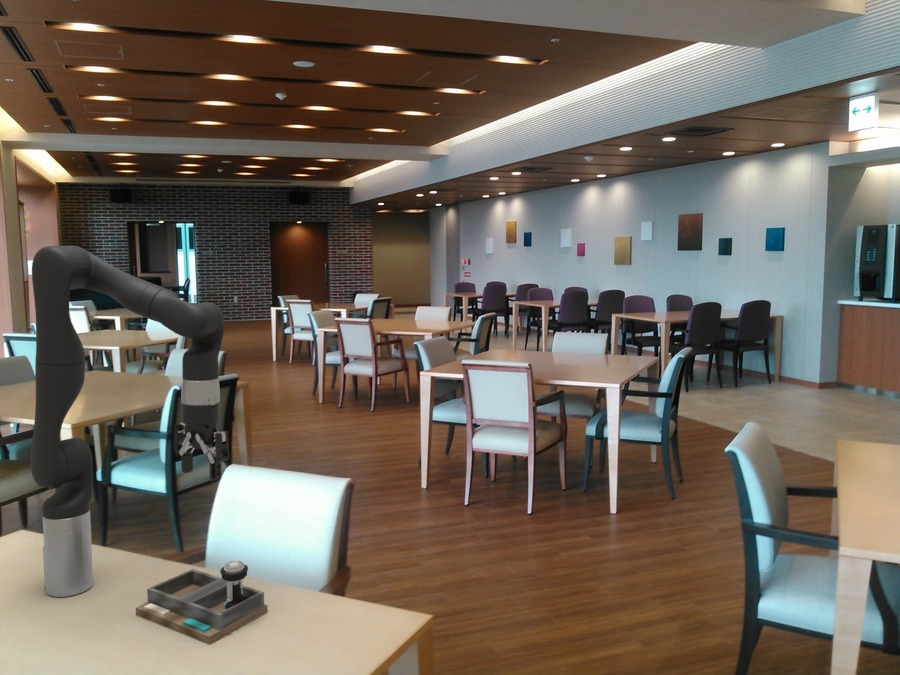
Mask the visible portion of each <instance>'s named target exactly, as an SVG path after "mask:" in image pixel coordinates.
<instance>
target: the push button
mask: <svg viewBox="0 0 900 675" xmlns="http://www.w3.org/2000/svg"><path fill="white" fill-rule="evenodd" d="M248 570H249V566H248V565H246V564H244V562H243V561H240V560H232V561H228V562H226V563H225V565H224V566H223V567H221V568H220V570H219V572H220V575H221V578H222V579H223V580H226V582H227V602H225V603H224V610H226V609H228V608H230V607H232V606H234V605H236V604H238V603H240V602H242V601H244V600H245V599H247V596H244V595H243V592H242V585H243V579H245V578H246V577H247V575H248ZM224 610H223V611H224Z"/></svg>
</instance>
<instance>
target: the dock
mask: <svg viewBox="0 0 900 675" xmlns="http://www.w3.org/2000/svg"><path fill="white" fill-rule="evenodd" d="M242 592H243V595H244V596H247V599H245V600H244V601H242V602H240V603H238V604H236V605H234V606H232V607H230V608H228V609H226V610H224V603H225V602H227V582H226V580H223V579H222V577H219V576H215V575H213V574H210V573H208V572H204V571H200V570H198V569H195V568H192V569H190V570H187V571H185V572H183V573H180V574H178V575H176V576H173V577H171V578H169V579H166V580H165V581H162V582H160V583H157V584H155V585H152V586H150V587H149V588H147V602H145V603H143V604H141V605H139V606H136V607H135V615H136V616H139V617H141V618H143V619H146V620H148V621H151V622H153V623H155V624H158V625H161V626H163V627H166V628H168V629H171V630H173V631H175V632H178V633H180V634H183V635H185V636H189V637H191V638H193V639H196V640H197V641H201V642H203V643H205V644H208V645H211V644H214V643H215V642H217V641H218V640H221V639H222V638H224V637H225V635H226V636H227V635H229V634H231V633H233V632H234V631H236V630H238V629H240V628H242V627H243V626H245V625H247V624H249V623H251V622H253V621H254V620H256V619H258V618H259V617H261V616H264V615H265V614H267V613H268V604H265V592H264V591H261V590H259V589H255V588H252V587H249V586H246V585H244V584H242ZM223 610H224V611H223ZM232 631H233V632H232ZM230 632H231V633H230ZM223 636H224V637H223ZM216 640H217V641H216Z"/></svg>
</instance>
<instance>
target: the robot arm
mask: <svg viewBox="0 0 900 675" xmlns="http://www.w3.org/2000/svg"><path fill="white" fill-rule="evenodd" d="M31 279H32V289H33V290H32V291H33V298H34V301H33V302H34V311H35V343H36V344H35V345H36V347H35V361H34V362H35V364H34V365H35V370H34V372H35V406H34V410H35V412H34V424H33V431H32V432H33V433H32V440H31V447H30V448H31V450H30V460H29V461H30V463H29V464H30V471H31V472H30V473H31V475H32V478H33V480H34V483H36V484H37V486H39V487H41V488H51V487H55V486H59V485H60V487H59V488H58V490H57V491H55V493H54V494H52V495H51V496H49V497H48V498H47V499H45V500H44V501H43V503H42V505H41V514H42V530H43V548H42V556H43V559H42V560H43V573H44V574H43V575H44V576H43V577H44V589H45V591H46V594H47V595H48V596H50V597H55V598H61V597H63V598H65V597H70V596H75V595H79V594H82V593H84V592H86V591H88V590H90V589H91V588H92V587H93V586H94V574H93V572H94V571H93V570H94V569H93V565H94V564H93V548H92V545H93V544H92V522H91V500H92V499H93V498H92V497H93V474H94V473H93V467H94V465H93V462H94V461H93V455H92V451H91V448H90V446H89V444H88V442H86V440H85V439H83V438H81V437H71V438H66V439H61V432H62V427H63V423H64V421H65V419H66V416H67V415H68V412H69V411H70V409H71V408H72V406H73V405H74V404H75V402H76V400H77V398H79V395H80V393H81V391H82V388H83V386H84V383H85V377H86V376H85V375H86V354H85V348H84V346H83V343H82V341H81V339H80V336H79V335H78V333H77V331H76V328H75V327H74V324H73V322H72V318H71V314H70V313H71V312H70V294H71V293H70V292H71V291H72V290H79V289H84V290H91V291H94V292H98V293H102V294H104V295H106V296H108V297H110V298H112V299H113V300H115V301H116V302H117V303H119V304H120V305H121V306H122V307H123V308H125V309H126V310H128V311H129V312H132V313H134V314H136V315H138V316H141V317H143V318H146V319H149V320H151V321H154V322H156V323H159V324H161V325H162V326H163V327H165V328H167V329H168V330H170V331H172V332H173V333H175V334H176V335H179V336H181V337H183V338H187V339H191V342H190V346H189V348H188V349H187V350H186V351H185V352H183V355H182V359H181V360H182V362H181V363H182V365H181V366H182V367H181V368H182V382H181V390H180V391H181V392H180V395H181V396H180V397H181V400H180V401H181V405H180V406H181V410H180V411H181V413H180V414H181V422H178V423H175V424H174V428H173V430H174V432H173V450H174V451H175V452H178V453H179V455H180V458H181V459H180V460H181V472H182V473H183V474H189V473H191V472H193V469H194V455H193V452H194V450H195V449H199V450H202V452H203V454H204V455H206V456H207V459H208V460H209V462H210V463H209V481H212V482H216V481H219V480H220V479H221V476H222V462H224V461H228V460H230V442H229V432H228V430H225V431H218V429H217V424H218V422H219V421H220V420H221V399H220V398H221V390H220V380H219V355H220V352H221V347H222V342H223V336H224V332H225V318H224V314H223V311H222V310H221V309H220V307H219V306H218V305H217V304H215V303H213V302H207V301H206V302H199V303H192V302H188V301H186V300H183V299H181V298H180V296H179V295H178V294H177V293H176V292H174V291H172V290H170V289H168V288H165V287H163V286H161V285H157V284H155V283H154V282H153V283H152V282H150V281H147V280H144V279H142V278H141V277H137V276H134V275H132V274H130V273H127V272H126V271H123V270H122V269H119V268H117V267H116V266H114V265H112V264H111V263H108V262H106V261H105V260H104V259H102V258H100V257H98V256H97V255H95V254H93V253H91V252H90V251H88V250H87V249H84V248H83V247H81V246H76V245H48V246H44V247H41V248H40V249H38V250H37V252H36V253H35V255H34V256H33V259H32V263H31ZM60 439H61V440H60ZM180 440H181V443H180ZM222 451H223V454H222ZM214 454H215V455H214Z"/></svg>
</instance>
